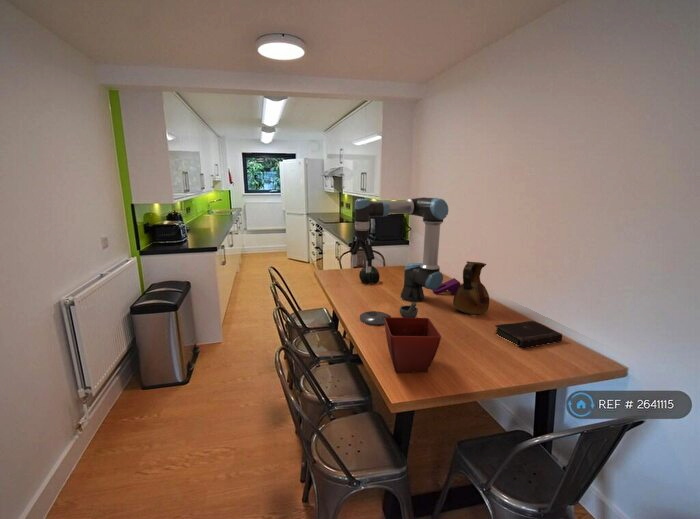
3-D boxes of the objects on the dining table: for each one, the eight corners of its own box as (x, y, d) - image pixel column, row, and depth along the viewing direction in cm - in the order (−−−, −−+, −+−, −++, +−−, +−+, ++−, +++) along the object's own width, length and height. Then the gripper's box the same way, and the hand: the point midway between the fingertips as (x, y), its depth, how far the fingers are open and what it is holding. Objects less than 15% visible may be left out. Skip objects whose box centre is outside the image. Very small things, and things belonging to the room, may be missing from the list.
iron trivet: (379, 311, 197) (379, 309, 197) (397, 322, 183) (397, 319, 182) (353, 316, 189) (354, 314, 188) (371, 328, 174) (371, 325, 174)
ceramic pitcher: (493, 312, 201) (499, 262, 194) (479, 321, 186) (485, 268, 180) (461, 303, 214) (466, 256, 207) (446, 311, 199) (450, 261, 193)
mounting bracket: (439, 303, 231) (463, 292, 230) (434, 292, 229) (459, 281, 228) (435, 299, 240) (458, 288, 239) (430, 288, 238) (454, 278, 238)
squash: (380, 279, 244) (379, 261, 251) (359, 280, 244) (359, 261, 252) (379, 288, 256) (378, 270, 264) (359, 288, 257) (359, 270, 264)
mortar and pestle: (396, 318, 189) (397, 297, 186) (411, 316, 191) (412, 295, 189) (405, 325, 178) (407, 304, 176) (421, 324, 181) (423, 302, 178)
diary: (561, 343, 163) (563, 334, 162) (521, 351, 155) (523, 341, 154) (529, 327, 180) (531, 318, 179) (491, 333, 172) (493, 324, 171)
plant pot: (426, 353, 149) (428, 317, 146) (438, 377, 131) (442, 336, 127) (382, 353, 149) (384, 316, 145) (388, 377, 130) (390, 336, 126)
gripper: (343, 226, 185) (343, 264, 190) (369, 233, 164) (368, 276, 169) (355, 225, 188) (354, 263, 193) (382, 232, 168) (380, 273, 173)
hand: (361, 269), depth 181 cm, fingers open, 13 cm apart
